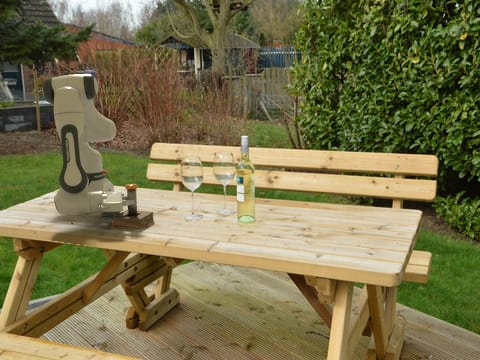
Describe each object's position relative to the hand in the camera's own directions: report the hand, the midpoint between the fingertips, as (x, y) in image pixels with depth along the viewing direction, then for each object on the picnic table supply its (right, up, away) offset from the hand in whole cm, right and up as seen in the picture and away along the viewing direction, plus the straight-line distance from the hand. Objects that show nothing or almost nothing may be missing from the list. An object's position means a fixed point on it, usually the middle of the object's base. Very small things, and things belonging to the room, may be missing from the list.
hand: (134, 200), depth 213 cm
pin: (-1, -7, +1) cm, 7 cm away
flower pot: (-13, -7, +16) cm, 22 cm away
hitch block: (-1, -10, +2) cm, 10 cm away
